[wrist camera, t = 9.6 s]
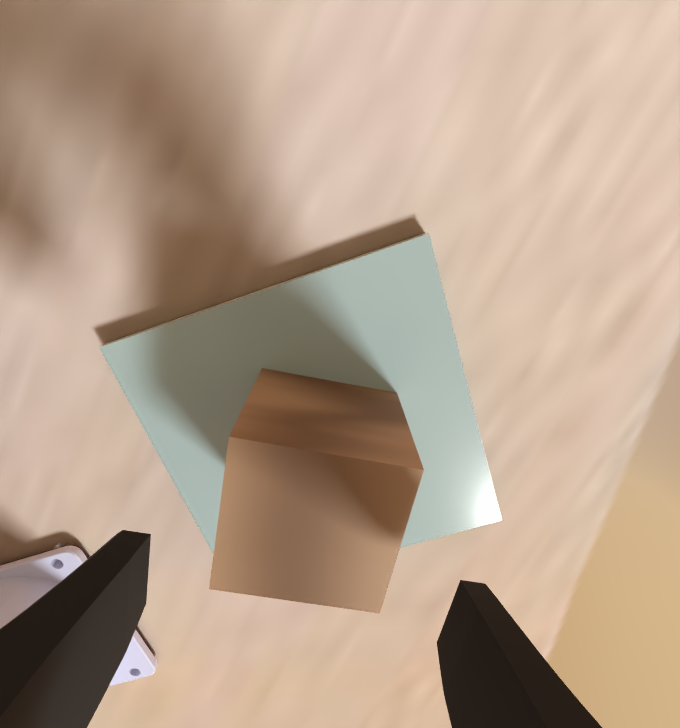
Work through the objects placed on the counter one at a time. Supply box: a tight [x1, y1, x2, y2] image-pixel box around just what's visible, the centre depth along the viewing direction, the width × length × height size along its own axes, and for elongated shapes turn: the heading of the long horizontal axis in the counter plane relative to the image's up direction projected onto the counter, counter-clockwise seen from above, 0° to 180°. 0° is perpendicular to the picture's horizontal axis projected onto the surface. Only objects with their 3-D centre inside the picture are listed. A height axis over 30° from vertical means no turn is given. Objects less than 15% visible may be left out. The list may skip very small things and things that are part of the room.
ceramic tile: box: [99, 233, 502, 554], centre depth 16 cm, size 12×12×1 cm
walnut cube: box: [209, 368, 424, 613], centre depth 14 cm, size 5×5×5 cm
